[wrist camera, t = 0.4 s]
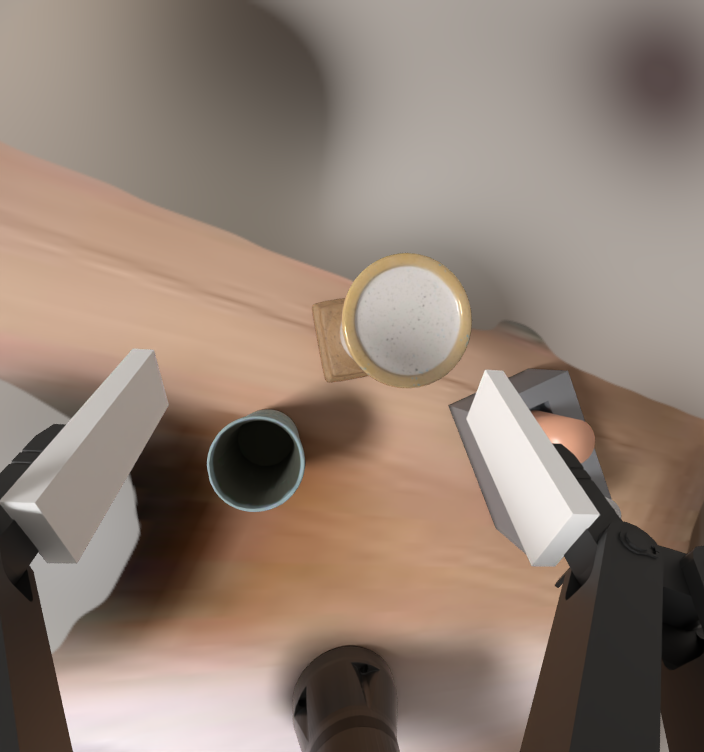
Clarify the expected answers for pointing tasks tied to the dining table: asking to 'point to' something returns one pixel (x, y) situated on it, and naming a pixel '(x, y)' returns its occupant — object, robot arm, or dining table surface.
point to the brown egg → (567, 433)
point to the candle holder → (395, 324)
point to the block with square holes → (538, 393)
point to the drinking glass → (257, 461)
